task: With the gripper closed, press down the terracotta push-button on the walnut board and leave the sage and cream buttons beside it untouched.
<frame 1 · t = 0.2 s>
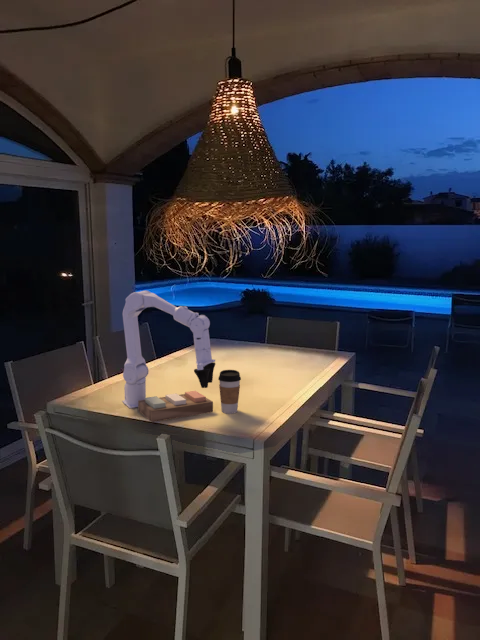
hand: (207, 385, 197), 10 cm above the table, tool pointing down, fingers open, 7 cm apart
coffee cup: (229, 411, 200), on the table
sage button: (155, 405, 195), point 3 cm above the table, slide at 0.0 cm
button board: (175, 411, 199), on the table
terracotta button: (195, 399, 203), point 3 cm above the table, slide at 0.0 cm
cream button: (175, 402, 199), point 3 cm above the table, slide at 0.0 cm
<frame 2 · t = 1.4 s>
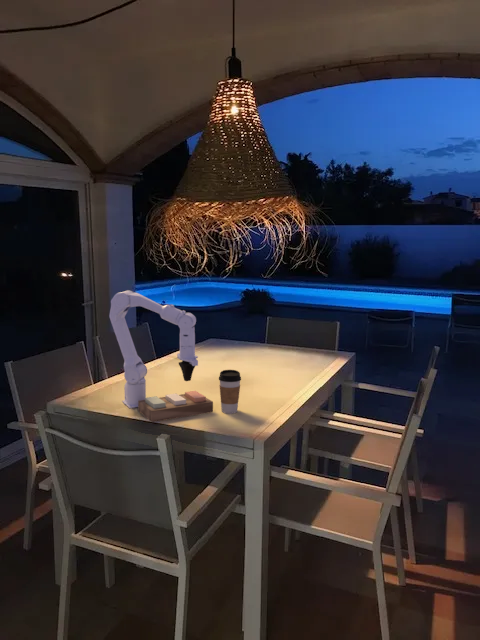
hand: (187, 380, 203), 10 cm above the table, tool pointing down, fingers closed
nothing on the table moved.
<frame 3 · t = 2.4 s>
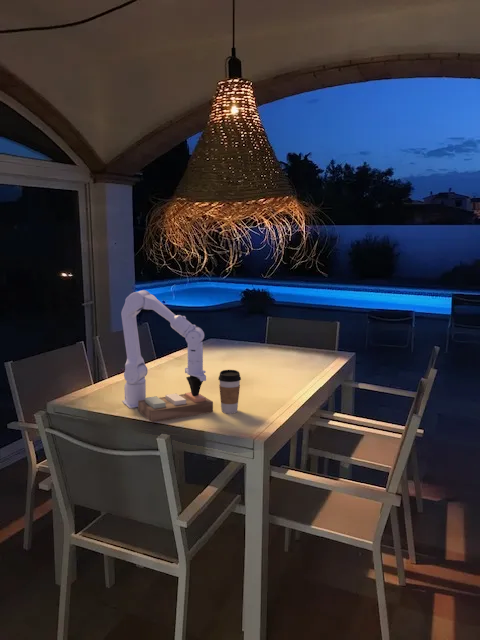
hand: (195, 395, 202), 5 cm above the table, tool pointing down, fingers closed, pressing on terracotta button
terracotta button: (195, 400, 203), point 3 cm above the table, slide at 0.4 cm, touching gripper
everything else where it was.
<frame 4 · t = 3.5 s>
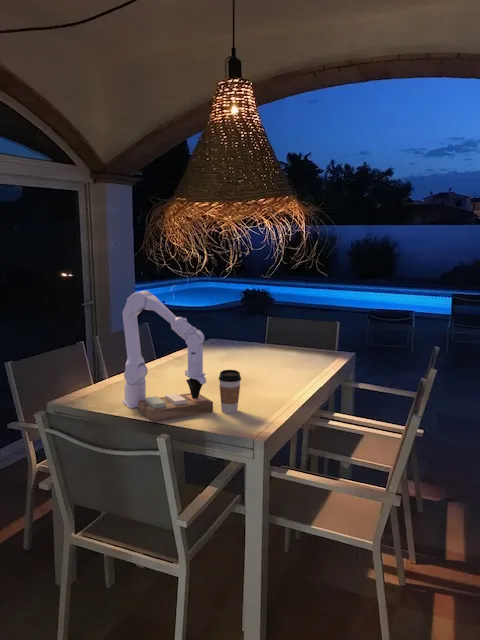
hand: (195, 397, 202), 4 cm above the table, tool pointing down, fingers closed, pressing on terracotta button
terracotta button: (195, 402, 203), point 2 cm above the table, slide at 1.3 cm, touching gripper
everything else where it was.
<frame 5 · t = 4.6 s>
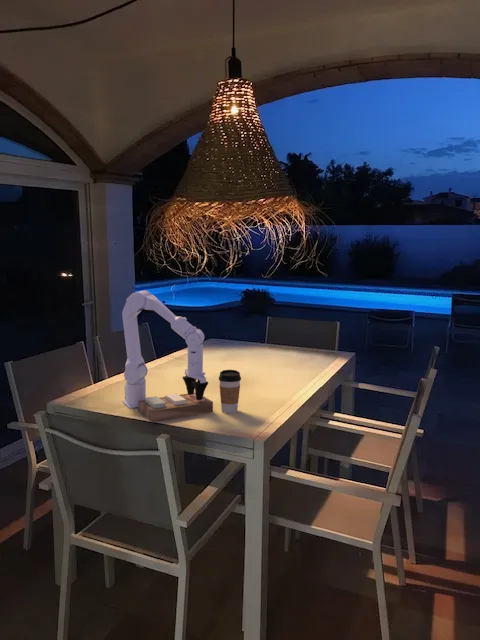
hand: (195, 397, 202), 4 cm above the table, tool pointing down, fingers open, 7 cm apart
terracotta button: (195, 403, 203), point 2 cm above the table, slide at 1.4 cm
everything else where it was.
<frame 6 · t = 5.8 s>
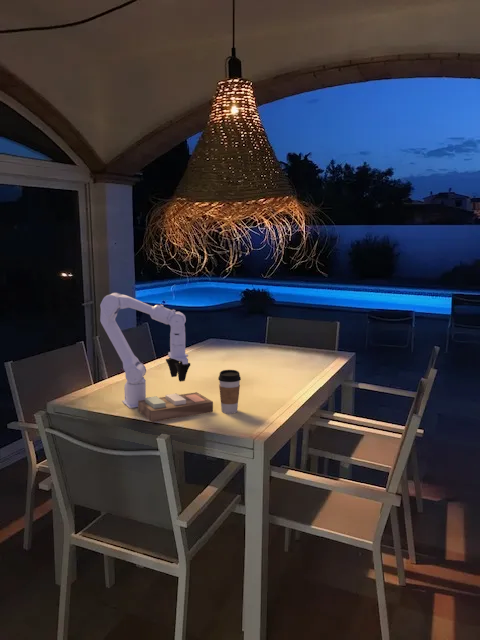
hand: (177, 378, 206), 10 cm above the table, tool pointing down, fingers open, 7 cm apart
nothing on the table moved.
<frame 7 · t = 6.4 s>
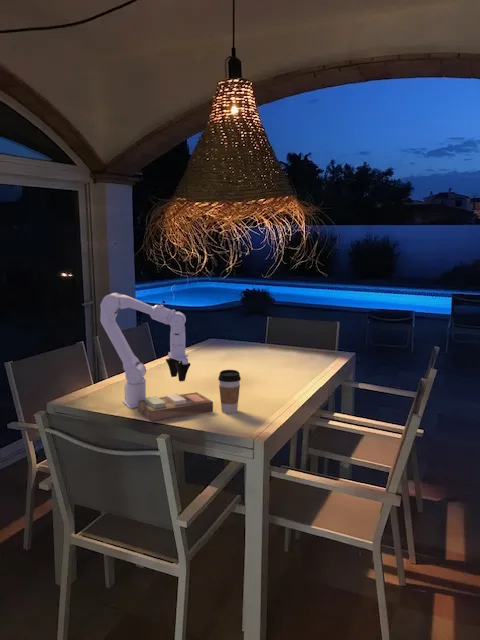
hand: (177, 378, 206), 10 cm above the table, tool pointing down, fingers open, 7 cm apart
nothing on the table moved.
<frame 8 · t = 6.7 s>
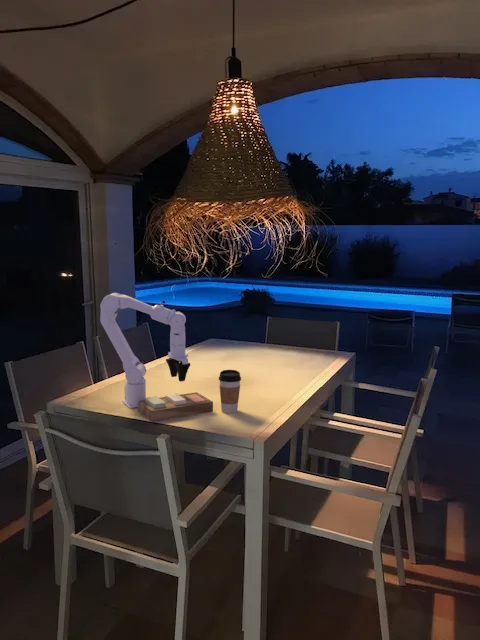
hand: (177, 378, 206), 10 cm above the table, tool pointing down, fingers open, 7 cm apart
nothing on the table moved.
at the end: terracotta button slide at 1.4 cm; cream button slide at 0.0 cm; sage button slide at 0.0 cm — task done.
